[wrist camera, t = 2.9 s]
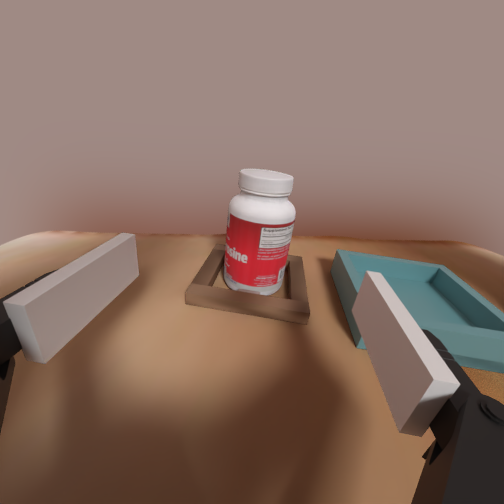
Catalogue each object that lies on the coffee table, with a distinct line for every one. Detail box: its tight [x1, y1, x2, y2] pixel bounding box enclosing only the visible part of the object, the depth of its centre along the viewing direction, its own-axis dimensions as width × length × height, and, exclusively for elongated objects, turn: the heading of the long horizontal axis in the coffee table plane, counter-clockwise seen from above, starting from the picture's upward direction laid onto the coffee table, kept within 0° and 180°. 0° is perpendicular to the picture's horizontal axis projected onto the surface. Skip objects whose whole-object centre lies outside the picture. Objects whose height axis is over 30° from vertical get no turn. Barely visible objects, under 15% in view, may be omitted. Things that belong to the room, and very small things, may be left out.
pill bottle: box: [224, 169, 296, 296], centre depth 23 cm, size 6×6×11 cm
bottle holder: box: [185, 244, 310, 325], centre depth 25 cm, size 11×11×1 cm
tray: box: [330, 249, 504, 373], centre depth 23 cm, size 12×12×3 cm
